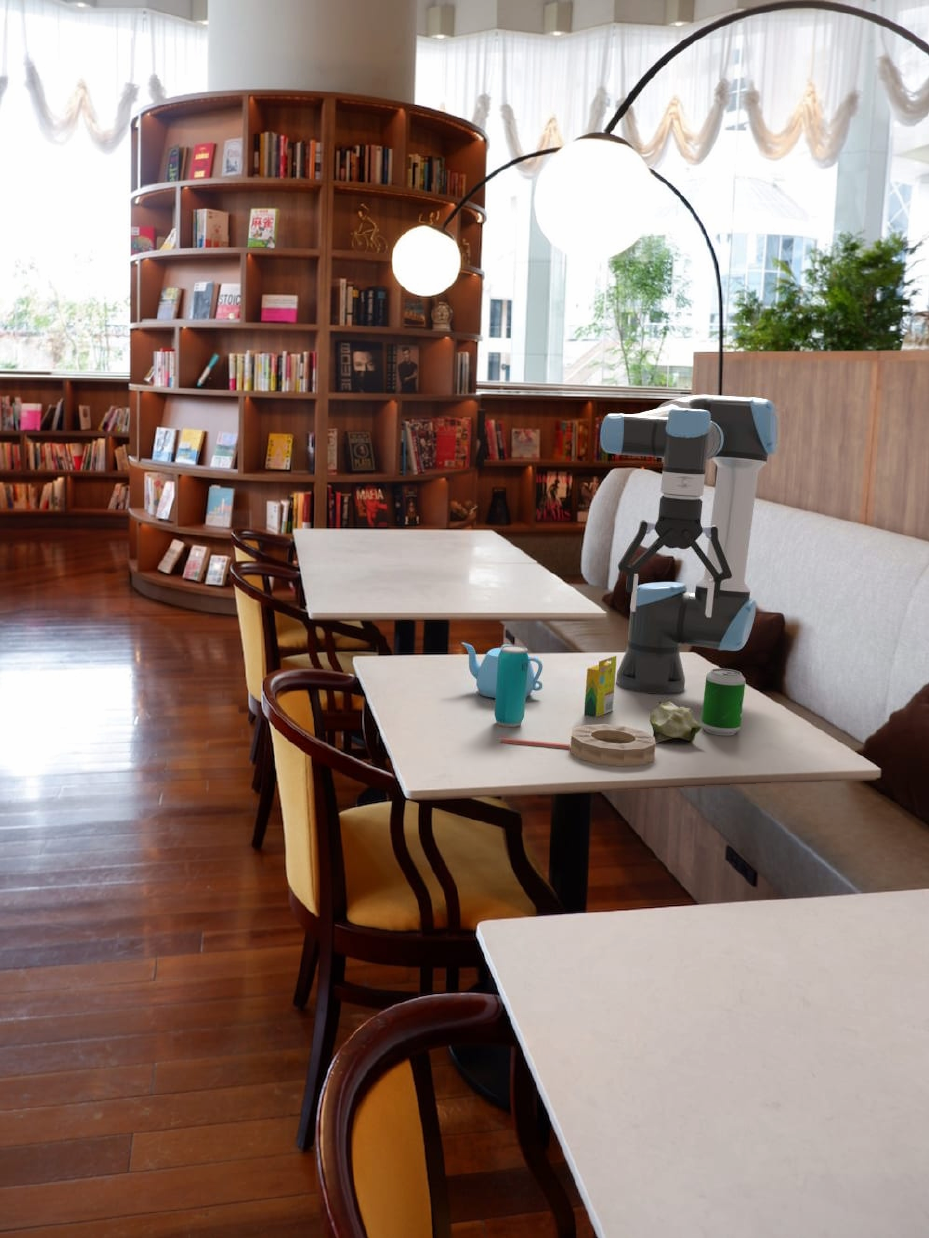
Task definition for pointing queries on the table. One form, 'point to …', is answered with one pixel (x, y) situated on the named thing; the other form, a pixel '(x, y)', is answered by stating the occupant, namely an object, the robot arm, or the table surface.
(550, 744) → the stick
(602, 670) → the crayon box
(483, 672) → the teapot
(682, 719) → the fruit
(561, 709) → the table surface
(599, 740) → the tan flat ring
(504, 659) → the beverage can
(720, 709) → the soda can
